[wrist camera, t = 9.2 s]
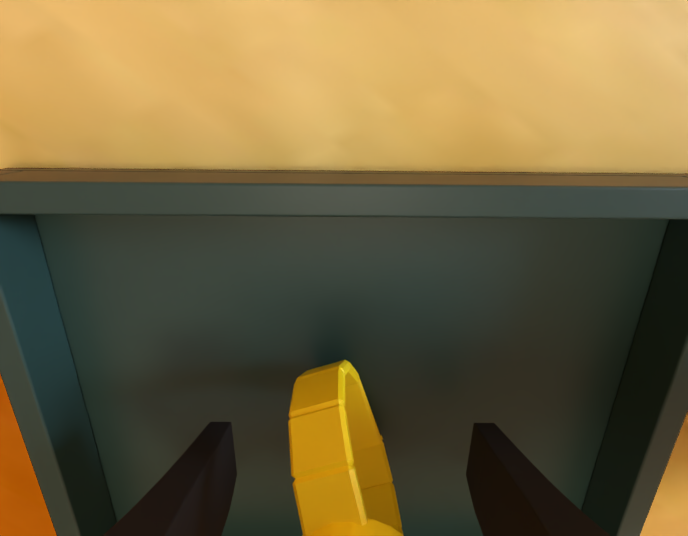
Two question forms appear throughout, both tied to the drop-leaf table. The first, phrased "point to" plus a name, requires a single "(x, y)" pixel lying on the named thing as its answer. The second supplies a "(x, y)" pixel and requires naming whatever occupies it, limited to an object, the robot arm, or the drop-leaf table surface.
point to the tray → (344, 329)
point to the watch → (339, 457)
